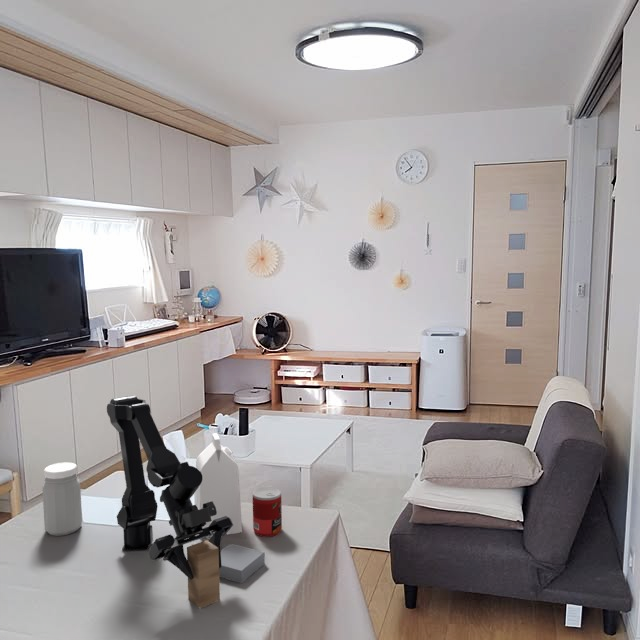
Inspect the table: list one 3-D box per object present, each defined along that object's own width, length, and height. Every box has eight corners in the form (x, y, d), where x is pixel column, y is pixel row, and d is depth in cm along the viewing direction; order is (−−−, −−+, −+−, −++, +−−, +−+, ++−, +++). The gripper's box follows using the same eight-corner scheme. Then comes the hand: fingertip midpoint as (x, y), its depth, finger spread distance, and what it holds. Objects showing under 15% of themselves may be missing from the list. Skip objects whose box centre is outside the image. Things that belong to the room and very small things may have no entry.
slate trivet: (206, 573, 146) (206, 561, 146) (231, 555, 155) (230, 543, 154) (241, 583, 141) (241, 570, 141) (264, 563, 150) (264, 552, 150)
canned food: (277, 538, 164) (277, 498, 163) (249, 535, 165) (248, 496, 164) (285, 526, 171) (284, 488, 170) (257, 523, 173) (257, 486, 172)
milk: (195, 520, 175) (192, 432, 173) (235, 514, 179) (233, 428, 176) (199, 538, 164) (197, 444, 161) (242, 532, 167) (240, 440, 165)
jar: (79, 519, 177) (76, 458, 175) (85, 531, 169) (82, 468, 167) (42, 526, 172) (39, 465, 170) (47, 540, 163) (43, 475, 162)
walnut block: (188, 598, 135) (186, 547, 134) (208, 590, 138) (206, 540, 137) (199, 608, 131) (198, 555, 130) (219, 599, 135) (218, 547, 133)
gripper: (152, 503, 129) (179, 573, 122) (227, 482, 141) (256, 544, 134) (138, 527, 136) (162, 594, 129) (211, 504, 148) (237, 564, 141)
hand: (206, 573), depth 133 cm, fingers open, 7 cm apart
